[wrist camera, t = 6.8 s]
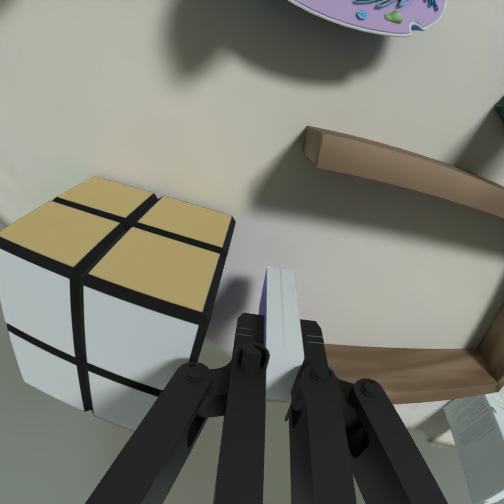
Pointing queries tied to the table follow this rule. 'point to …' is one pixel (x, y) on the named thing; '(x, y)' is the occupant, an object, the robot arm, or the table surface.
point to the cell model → (378, 14)
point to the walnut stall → (400, 359)
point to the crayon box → (500, 108)
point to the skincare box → (480, 444)
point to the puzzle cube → (110, 294)
